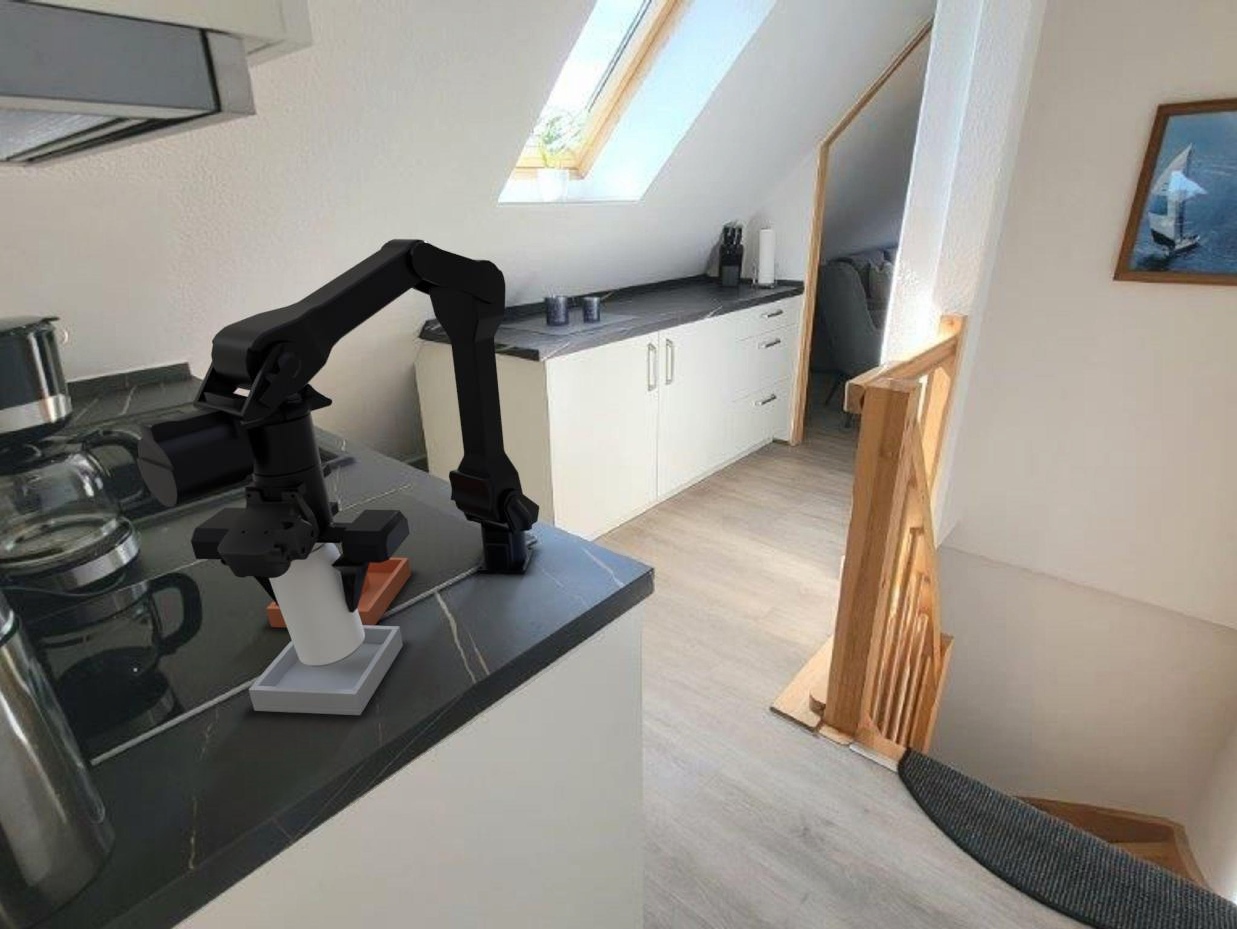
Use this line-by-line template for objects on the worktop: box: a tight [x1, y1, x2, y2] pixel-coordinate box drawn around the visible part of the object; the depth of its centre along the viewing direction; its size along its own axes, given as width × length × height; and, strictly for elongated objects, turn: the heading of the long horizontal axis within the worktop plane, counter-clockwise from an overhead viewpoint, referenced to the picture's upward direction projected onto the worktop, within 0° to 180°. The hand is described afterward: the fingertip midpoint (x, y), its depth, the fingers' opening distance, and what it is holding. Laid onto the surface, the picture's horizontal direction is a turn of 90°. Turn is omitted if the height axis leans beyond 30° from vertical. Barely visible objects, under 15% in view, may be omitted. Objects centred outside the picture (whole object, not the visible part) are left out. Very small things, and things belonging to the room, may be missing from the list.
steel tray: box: [248, 625, 404, 716], centre depth 67 cm, size 11×11×3 cm
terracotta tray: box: [266, 557, 412, 628], centre depth 81 cm, size 12×12×3 cm
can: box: [269, 543, 365, 667], centre depth 64 cm, size 6×6×12 cm
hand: (319, 609), depth 65 cm, fingers closed on can, 7 cm apart
